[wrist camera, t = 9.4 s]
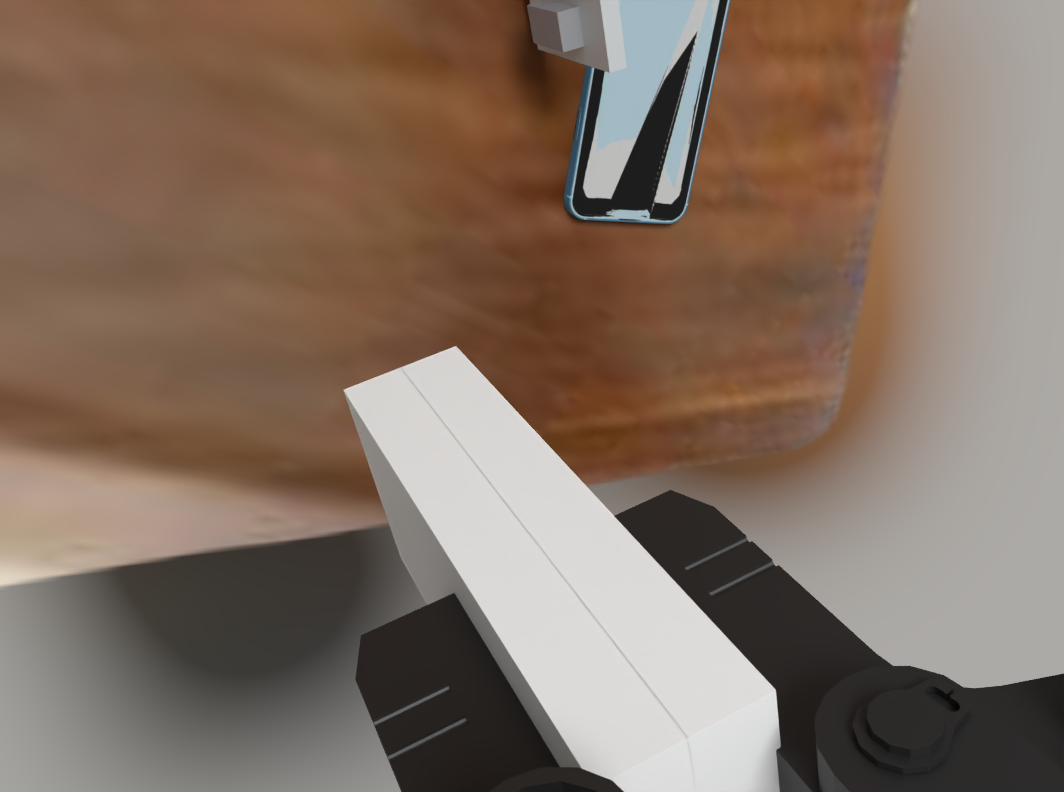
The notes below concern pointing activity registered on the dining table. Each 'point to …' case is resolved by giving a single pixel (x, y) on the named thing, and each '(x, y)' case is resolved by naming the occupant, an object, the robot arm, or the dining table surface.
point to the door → (580, 31)
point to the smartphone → (646, 114)
